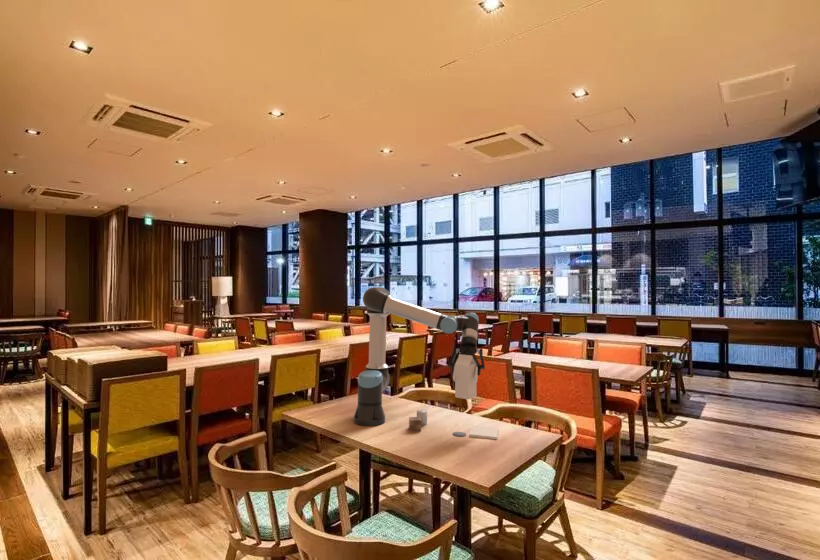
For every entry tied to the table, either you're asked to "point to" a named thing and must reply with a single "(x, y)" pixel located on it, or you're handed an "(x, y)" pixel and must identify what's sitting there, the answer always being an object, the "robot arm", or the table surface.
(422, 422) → the white small cylinder
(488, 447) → the table surface
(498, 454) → the table surface
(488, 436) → the plate
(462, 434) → the slate coaster
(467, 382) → the milk carton
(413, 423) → the walnut block
